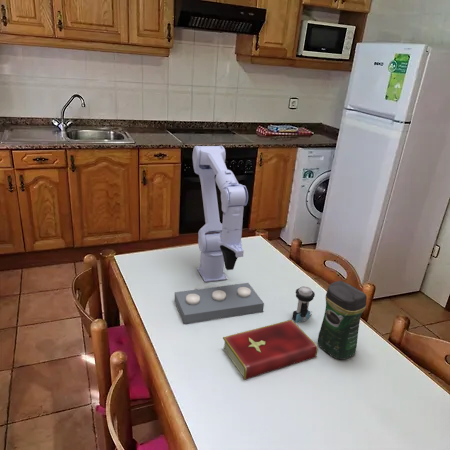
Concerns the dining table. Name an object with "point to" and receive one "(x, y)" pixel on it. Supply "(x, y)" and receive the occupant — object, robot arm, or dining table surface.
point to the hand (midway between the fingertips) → (229, 268)
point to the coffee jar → (341, 320)
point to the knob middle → (219, 295)
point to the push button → (303, 304)
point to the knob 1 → (192, 299)
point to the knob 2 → (244, 292)
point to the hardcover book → (269, 348)
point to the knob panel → (217, 304)
